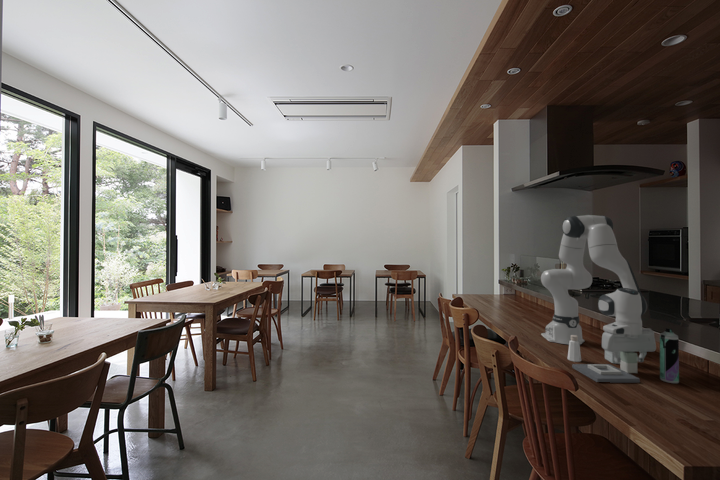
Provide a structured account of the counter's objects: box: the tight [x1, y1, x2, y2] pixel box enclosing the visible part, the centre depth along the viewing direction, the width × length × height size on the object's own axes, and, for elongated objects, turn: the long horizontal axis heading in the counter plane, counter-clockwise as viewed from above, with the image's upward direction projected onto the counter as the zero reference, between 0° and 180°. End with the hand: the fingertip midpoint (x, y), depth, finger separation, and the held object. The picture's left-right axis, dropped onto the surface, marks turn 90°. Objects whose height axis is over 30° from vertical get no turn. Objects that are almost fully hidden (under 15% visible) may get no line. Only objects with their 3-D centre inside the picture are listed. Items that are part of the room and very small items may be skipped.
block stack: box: [619, 352, 638, 374], centre depth 146 cm, size 4×4×8 cm
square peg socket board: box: [571, 363, 641, 384], centre depth 142 cm, size 16×16×3 cm
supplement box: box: [604, 331, 620, 365], centre depth 158 cm, size 7×7×13 cm
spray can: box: [659, 328, 680, 384], centre depth 136 cm, size 6×6×20 cm
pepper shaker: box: [567, 335, 582, 363], centre depth 160 cm, size 5×5×11 cm
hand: (628, 361), depth 146 cm, fingers open, 8 cm apart
